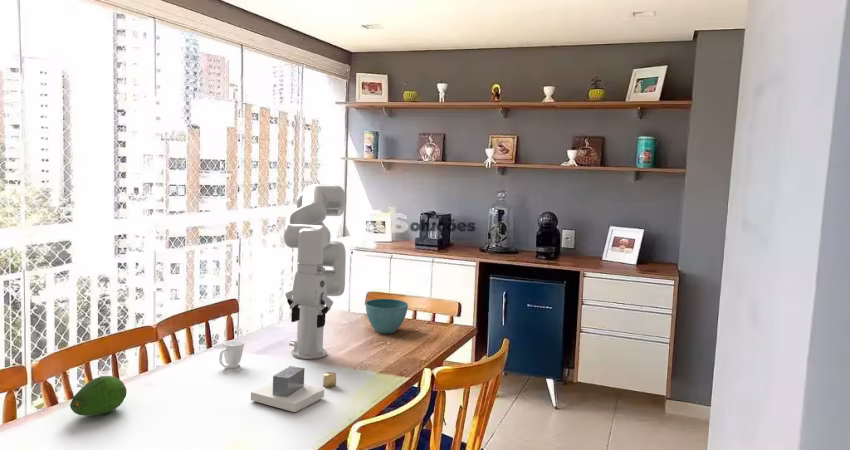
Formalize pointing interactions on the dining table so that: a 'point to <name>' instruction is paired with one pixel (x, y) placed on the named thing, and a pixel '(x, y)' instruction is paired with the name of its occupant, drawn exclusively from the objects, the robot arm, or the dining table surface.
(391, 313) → the teal bowl
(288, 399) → the stand
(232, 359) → the cup
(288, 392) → the block
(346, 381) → the dining table surface
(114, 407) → the fruit
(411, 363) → the dining table surface
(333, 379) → the cylinder
